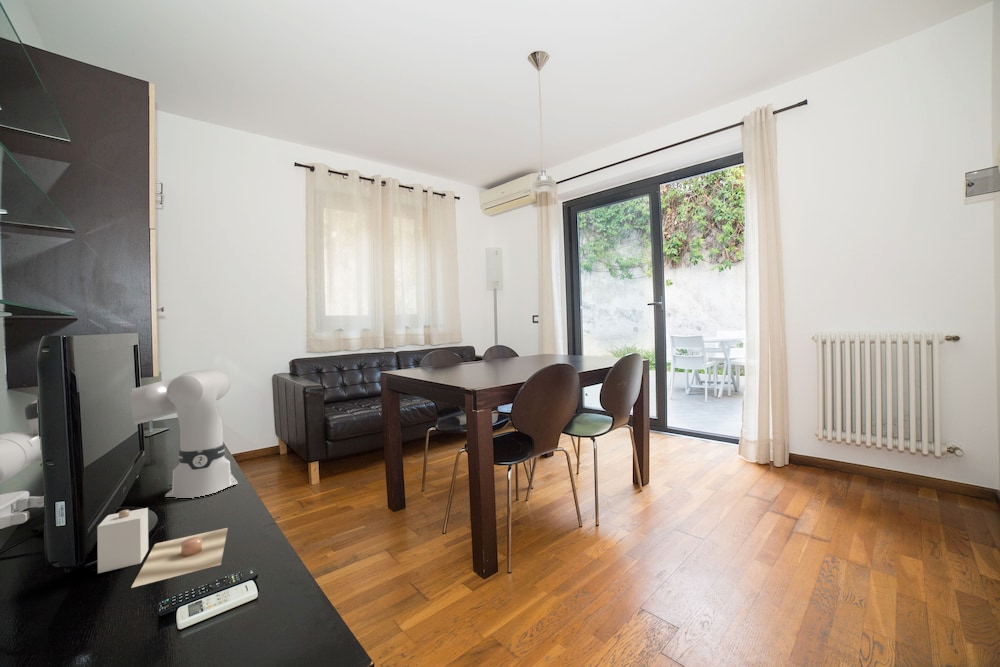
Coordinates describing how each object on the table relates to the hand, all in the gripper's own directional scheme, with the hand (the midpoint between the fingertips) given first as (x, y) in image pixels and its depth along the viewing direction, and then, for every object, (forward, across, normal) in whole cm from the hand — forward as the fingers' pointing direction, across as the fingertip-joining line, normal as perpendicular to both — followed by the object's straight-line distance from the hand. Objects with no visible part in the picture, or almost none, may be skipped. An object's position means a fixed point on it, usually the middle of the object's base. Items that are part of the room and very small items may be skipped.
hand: (39, 508), depth 79 cm
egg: (+24, +4, -14) cm, 28 cm away
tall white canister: (+12, 0, -15) cm, 19 cm away
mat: (+23, +4, -15) cm, 28 cm away
